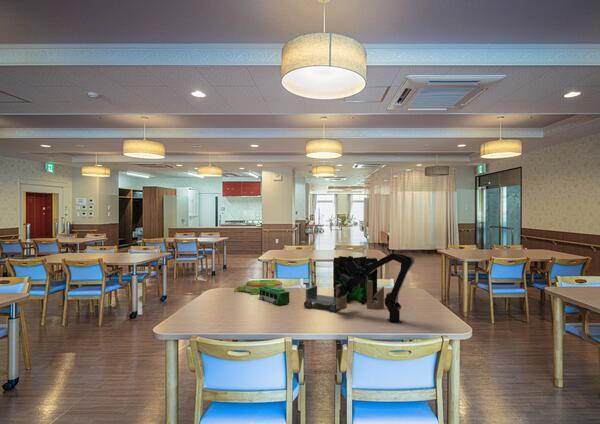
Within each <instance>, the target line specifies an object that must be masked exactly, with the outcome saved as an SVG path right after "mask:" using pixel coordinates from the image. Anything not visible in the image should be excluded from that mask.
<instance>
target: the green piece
mask: <svg viewBox="0 0 600 424" xmlns="http://www.w3.org/2000/svg"><path fill="white" fill-rule="evenodd" d="M269 285H271V286H274V287H278V288H281V289H283V285H282V281H280V280H279V279H278V280H276V279H255V280H254V279H252V280H249V281H246V282H245V284H239V285H238V286H237V287H235V288H234V290H233V292H234V293H238V291H241V292H242V291H243V292H248V293H250V294H251V295H253V296H258V295H259V287H264V286H269Z"/></svg>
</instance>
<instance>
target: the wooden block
mask: <svg viewBox="0 0 600 424" xmlns="http://www.w3.org/2000/svg"><path fill="white" fill-rule="evenodd" d="M373 298H377V302H375V301H374V302H373ZM384 299H385V287H384V286H382V287H381V288H380V289H379V290H377V293H376V294H375V295H374V296H373V281H372V280H368V281H367V302H366V309H367V310H368V309H369V310H370V309H371V310H384V309H385V300H384Z"/></svg>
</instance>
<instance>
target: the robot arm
mask: <svg viewBox="0 0 600 424" xmlns="http://www.w3.org/2000/svg"><path fill="white" fill-rule="evenodd" d="M392 261H395V262H398V263H400V270H399V272H398V275H397V276H396V277H397V278H396V280H395V282H394V285H393V287H392V289H391V291H390V292H388V293H386V295H385V297H384V307H385V308H387V311H388V312H389V314H388V315H389V317H388V318H387V319H386V320H387V322H388V321H389V323H391V324H396V323H397V324H398V323H403V321H402V320H401V318H400V317H401V316H400V315H401V314H400V312H401V311H400V310H401V309H402V305H401V303H399V296H400V295H399V294H400V292H401V289H402V288H403V284H404V281H405V280H406V277H407V275H408V272H409V271H410V270H411V268H412V267H413V266H414V264H415V261H416V260H415V258H414V257H413V256H412V255H410V254H409V255H406V254H401V253H397V252H396V251H395V252H390V253H389V254H388V255H386V256H384V257H382V258H380V259H377V261H376V262H374V263H370V264H367V265H364V266H362V267H361V266H360V267H358V266H357V264H356V263H355V262H354V261H351V262H350V263H348V264H347V265H346V266H345V268H346V270H347V271H348V272H349V273H350V274H355V273H356V272H357V273H356V274H355V275H354V276H353V277H352V278H350V277H349V276H347V275H345V274H341V276H340V277H339V280H342V281H343V282H345V283H344V284H345V285H346V286H345V285H340V286H339V287H338V288H339V290H340V292H339V294H338V296H337V297H338V298H340V297H342V296H345V295H347V294H349V293H351V292H353V290H354V291H355V290H357V289H358V285H359V284H360V283H361V282H362V281H363V280H365V281H368V276H365V275H368V274H370V273H372V272H373V271H375V270H376V269H377V270H378V268H381V266H384V265H387V264H388V263H390V262H392Z"/></svg>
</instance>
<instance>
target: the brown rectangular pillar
mask: <svg viewBox="0 0 600 424" xmlns="http://www.w3.org/2000/svg"><path fill="white" fill-rule="evenodd" d="M339 286H340V285H337V286H336V309H337V310H345V309H347V308H348V302H347V295H345V296H342V297H340V298H338V297H337V296H338V294H339V292H340V290H339V288H338V287H339ZM345 286H346V285H345Z"/></svg>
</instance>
